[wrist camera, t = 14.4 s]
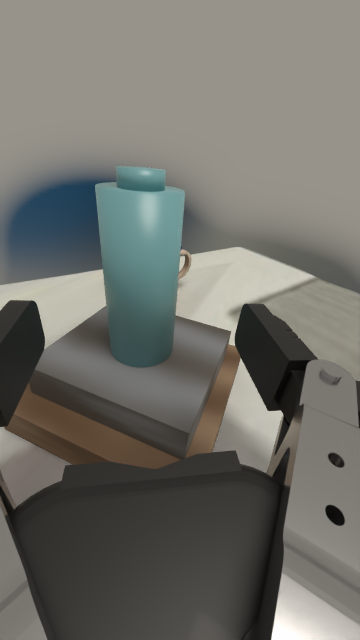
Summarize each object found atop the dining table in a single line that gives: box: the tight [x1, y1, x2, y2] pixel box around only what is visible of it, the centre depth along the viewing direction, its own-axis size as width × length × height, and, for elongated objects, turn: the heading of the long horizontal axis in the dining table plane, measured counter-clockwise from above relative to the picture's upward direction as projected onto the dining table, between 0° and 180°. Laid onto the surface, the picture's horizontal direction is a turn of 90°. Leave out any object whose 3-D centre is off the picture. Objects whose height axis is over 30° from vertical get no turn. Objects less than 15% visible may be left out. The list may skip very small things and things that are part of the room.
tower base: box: [5, 306, 241, 469], centre depth 23 cm, size 16×16×6 cm
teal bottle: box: [95, 166, 185, 368], centre depth 18 cm, size 5×5×13 cm
